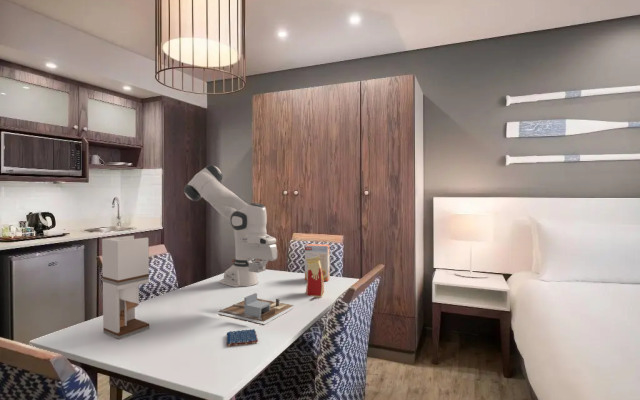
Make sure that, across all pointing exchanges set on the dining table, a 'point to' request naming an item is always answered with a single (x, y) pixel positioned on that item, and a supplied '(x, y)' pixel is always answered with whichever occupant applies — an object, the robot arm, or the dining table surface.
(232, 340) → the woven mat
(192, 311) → the dining table surface
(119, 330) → the coffee grinder
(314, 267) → the milk carton
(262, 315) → the base
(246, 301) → the cover
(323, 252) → the cracker box
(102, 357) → the dining table surface
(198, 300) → the dining table surface
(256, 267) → the block
